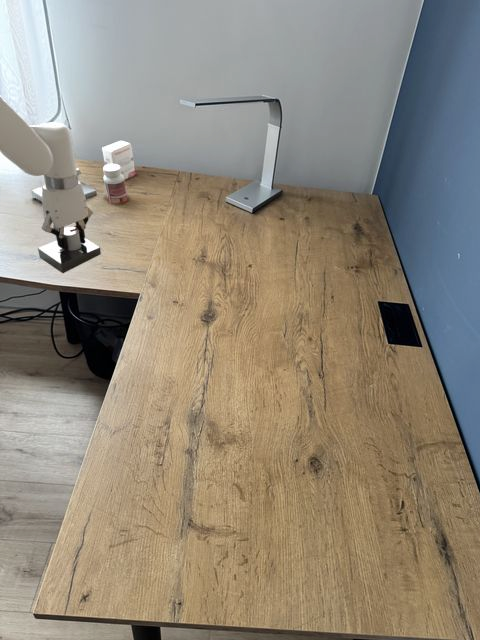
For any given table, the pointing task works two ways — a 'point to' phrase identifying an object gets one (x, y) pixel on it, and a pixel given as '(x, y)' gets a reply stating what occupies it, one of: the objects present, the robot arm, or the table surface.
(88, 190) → the block
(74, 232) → the hob knob
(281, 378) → the table surface
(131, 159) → the ink box
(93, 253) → the base plate
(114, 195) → the pill bottle
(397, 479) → the table surface
